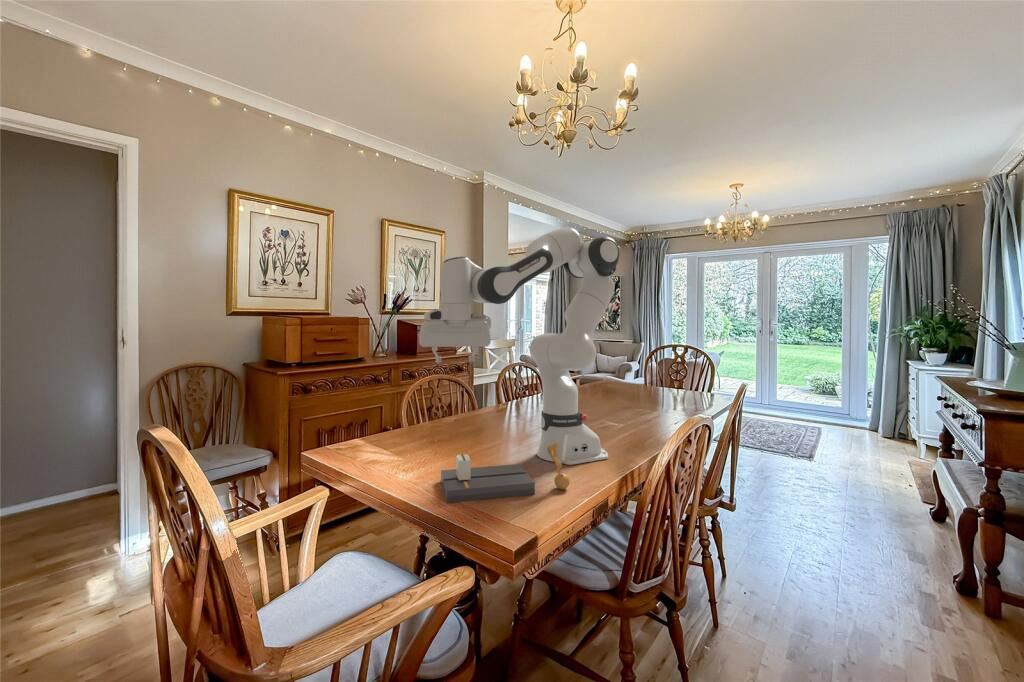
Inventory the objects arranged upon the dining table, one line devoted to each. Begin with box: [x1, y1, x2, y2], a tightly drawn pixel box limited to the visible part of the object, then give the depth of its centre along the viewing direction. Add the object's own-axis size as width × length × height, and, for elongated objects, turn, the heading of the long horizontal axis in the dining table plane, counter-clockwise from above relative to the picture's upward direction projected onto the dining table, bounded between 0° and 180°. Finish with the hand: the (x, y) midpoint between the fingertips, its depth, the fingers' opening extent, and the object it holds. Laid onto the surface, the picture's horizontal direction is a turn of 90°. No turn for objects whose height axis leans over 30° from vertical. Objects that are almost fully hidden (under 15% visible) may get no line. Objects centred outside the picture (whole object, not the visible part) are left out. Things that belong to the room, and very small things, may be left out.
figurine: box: [547, 443, 571, 490], centre depth 115 cm, size 8×6×12 cm
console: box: [440, 463, 536, 504], centre depth 115 cm, size 22×14×3 cm, turn 105°
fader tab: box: [455, 454, 472, 480], centre depth 114 cm, size 3×4×7 cm, turn 15°
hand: (455, 362), depth 127 cm, fingers open, 8 cm apart
